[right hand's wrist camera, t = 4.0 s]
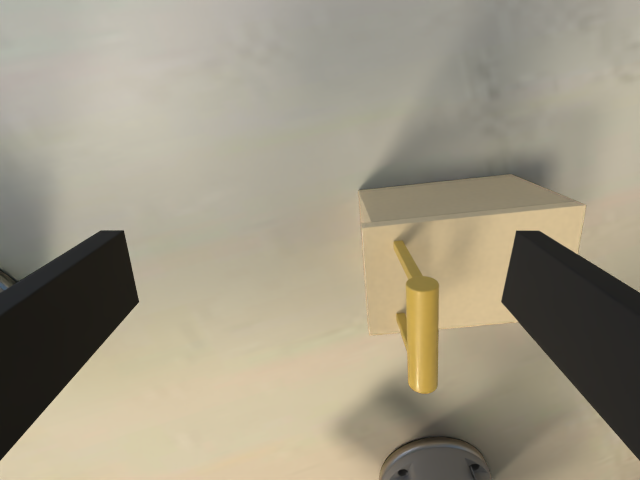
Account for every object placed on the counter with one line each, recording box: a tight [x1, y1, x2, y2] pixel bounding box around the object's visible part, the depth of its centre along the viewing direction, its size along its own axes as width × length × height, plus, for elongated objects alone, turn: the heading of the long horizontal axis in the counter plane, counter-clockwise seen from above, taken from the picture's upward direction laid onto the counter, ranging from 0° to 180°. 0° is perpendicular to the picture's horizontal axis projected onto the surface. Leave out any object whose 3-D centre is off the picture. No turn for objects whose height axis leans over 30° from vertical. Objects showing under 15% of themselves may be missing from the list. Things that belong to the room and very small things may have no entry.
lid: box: [361, 201, 586, 394], centre depth 25 cm, size 16×10×9 cm, turn 96°
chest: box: [358, 174, 575, 251], centre depth 34 cm, size 15×10×10 cm, turn 96°
